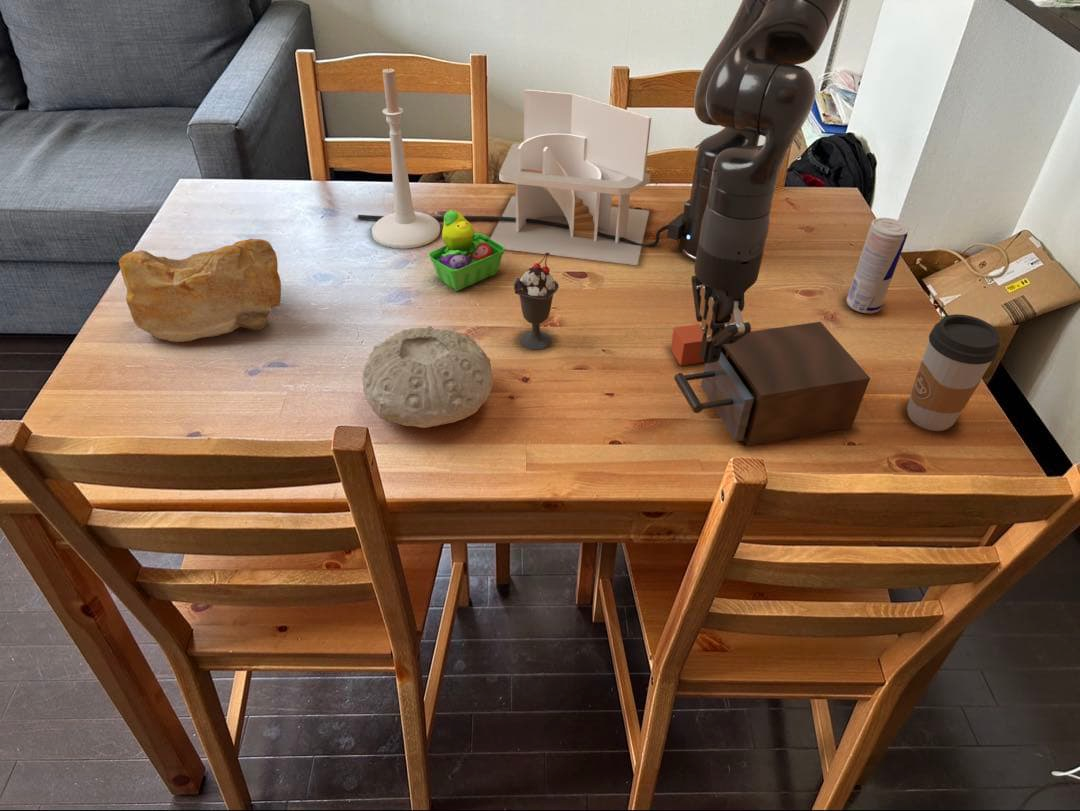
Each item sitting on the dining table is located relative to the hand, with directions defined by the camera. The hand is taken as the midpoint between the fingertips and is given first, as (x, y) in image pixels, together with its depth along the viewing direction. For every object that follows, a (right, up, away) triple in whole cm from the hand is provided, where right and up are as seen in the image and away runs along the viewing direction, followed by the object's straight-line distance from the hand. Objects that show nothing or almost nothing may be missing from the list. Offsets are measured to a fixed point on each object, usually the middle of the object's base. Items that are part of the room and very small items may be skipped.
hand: (708, 359), depth 102 cm
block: (+1, +2, +18) cm, 18 cm away
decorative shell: (-37, -6, +9) cm, 39 cm away
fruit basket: (-35, +17, +35) cm, 52 cm away
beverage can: (+32, +11, +30) cm, 45 cm away
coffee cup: (+33, -8, +9) cm, 35 cm away
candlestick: (-47, +27, +46) cm, 71 cm away
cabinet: (+12, -6, +10) cm, 17 cm away
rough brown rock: (-73, +8, +25) cm, 78 cm away
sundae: (-23, +4, +21) cm, 31 cm away
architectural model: (-16, +28, +48) cm, 58 cm away
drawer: (+7, -6, +8) cm, 12 cm away
